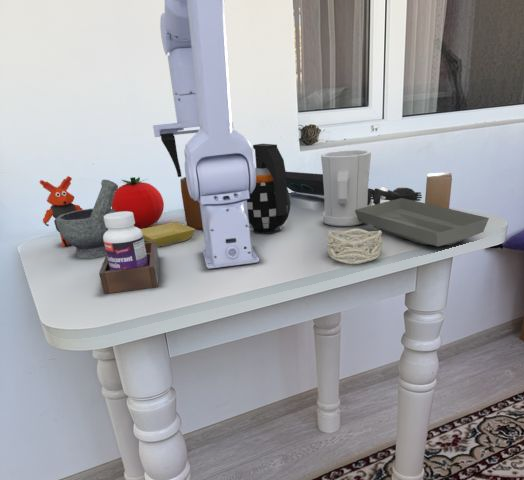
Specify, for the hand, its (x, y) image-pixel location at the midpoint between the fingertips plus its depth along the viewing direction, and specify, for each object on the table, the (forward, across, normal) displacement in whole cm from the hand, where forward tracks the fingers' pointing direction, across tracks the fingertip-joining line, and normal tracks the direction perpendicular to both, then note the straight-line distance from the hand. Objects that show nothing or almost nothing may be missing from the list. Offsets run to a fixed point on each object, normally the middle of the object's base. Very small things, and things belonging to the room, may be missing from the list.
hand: (199, 174), depth 94 cm
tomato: (+10, +13, -6) cm, 18 cm away
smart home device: (+7, -22, -26) cm, 34 cm away
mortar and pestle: (+10, +20, +10) cm, 25 cm away
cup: (+10, -26, +11) cm, 30 cm away
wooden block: (+10, -40, +19) cm, 45 cm away
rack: (+10, +13, +26) cm, 31 cm away
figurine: (+9, -40, +2) cm, 41 cm away
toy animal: (+10, +26, +2) cm, 28 cm away
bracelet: (+8, -24, +33) cm, 42 cm away
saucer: (+10, +8, +8) cm, 15 cm away
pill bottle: (+10, +13, +30) cm, 34 cm away
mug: (+10, -2, -1) cm, 10 cm away
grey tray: (+6, -33, +25) cm, 42 cm away
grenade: (+10, -11, +10) cm, 18 cm away
